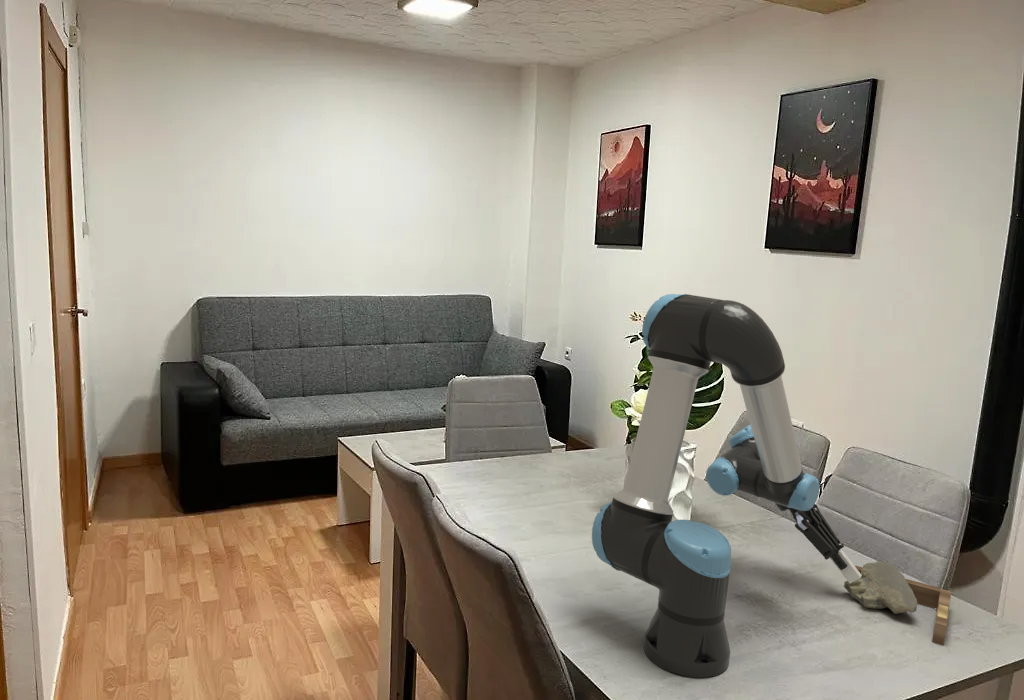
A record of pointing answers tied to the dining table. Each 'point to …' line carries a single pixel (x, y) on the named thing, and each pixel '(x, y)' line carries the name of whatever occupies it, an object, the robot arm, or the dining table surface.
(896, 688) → the dining table surface
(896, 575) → the jagged rock
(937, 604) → the brown wooden l-shaped piece
